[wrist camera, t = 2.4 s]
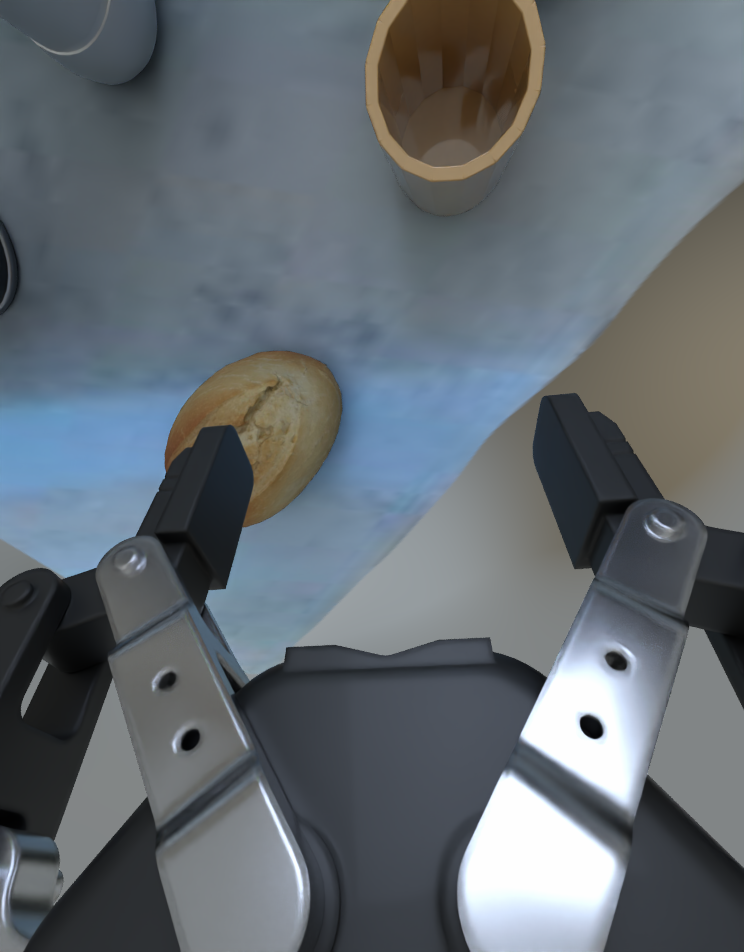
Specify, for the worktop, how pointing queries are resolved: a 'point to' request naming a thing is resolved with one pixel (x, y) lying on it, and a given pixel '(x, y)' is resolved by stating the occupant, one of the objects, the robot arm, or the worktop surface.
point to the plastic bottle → (89, 34)
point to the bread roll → (268, 422)
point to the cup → (453, 94)
